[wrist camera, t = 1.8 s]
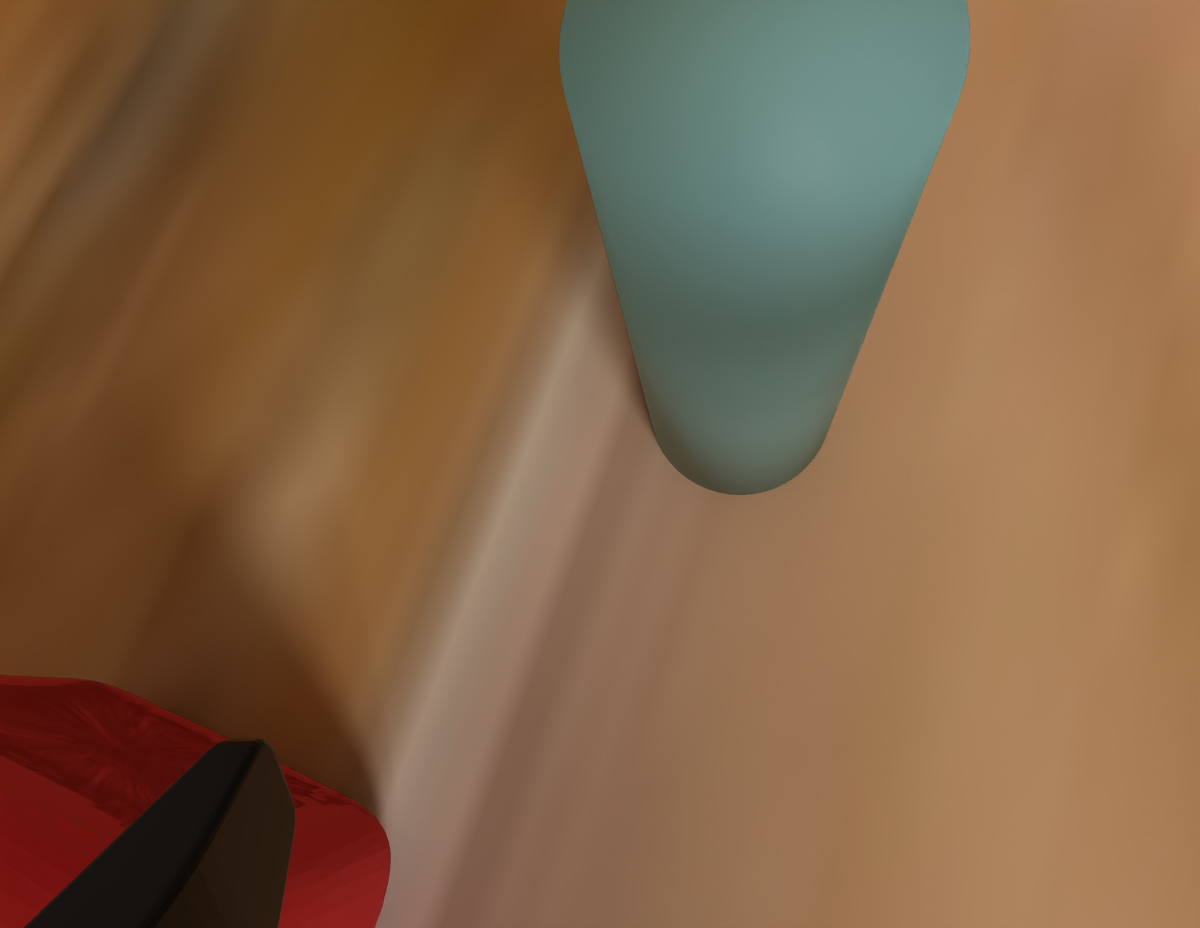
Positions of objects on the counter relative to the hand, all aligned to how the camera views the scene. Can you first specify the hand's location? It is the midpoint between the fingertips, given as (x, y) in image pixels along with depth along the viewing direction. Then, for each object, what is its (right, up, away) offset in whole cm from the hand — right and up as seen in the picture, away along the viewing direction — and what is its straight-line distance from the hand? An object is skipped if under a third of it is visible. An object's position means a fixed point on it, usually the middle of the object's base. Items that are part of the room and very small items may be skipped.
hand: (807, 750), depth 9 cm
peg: (+1, +3, +13) cm, 14 cm away
